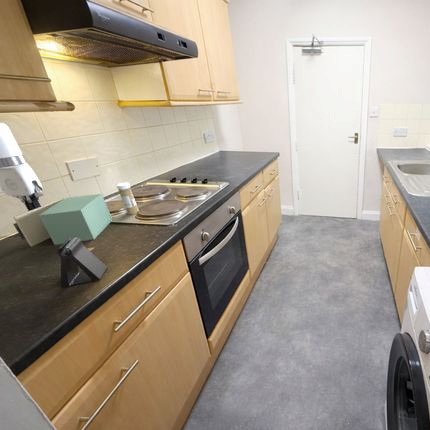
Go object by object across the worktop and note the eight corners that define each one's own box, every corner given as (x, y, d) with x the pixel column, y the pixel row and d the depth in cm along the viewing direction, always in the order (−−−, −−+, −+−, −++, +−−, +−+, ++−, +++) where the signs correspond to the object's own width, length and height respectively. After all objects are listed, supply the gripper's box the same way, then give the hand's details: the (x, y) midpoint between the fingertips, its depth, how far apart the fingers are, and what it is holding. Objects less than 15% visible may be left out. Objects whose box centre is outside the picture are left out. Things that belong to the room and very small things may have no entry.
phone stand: (108, 268, 80) (92, 233, 75) (100, 280, 75) (82, 244, 70) (72, 275, 78) (53, 240, 72) (61, 288, 72) (40, 251, 67)
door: (21, 245, 93) (3, 216, 88) (68, 224, 108) (55, 198, 103) (32, 246, 93) (14, 217, 88) (77, 224, 108) (65, 198, 103)
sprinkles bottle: (141, 211, 119) (131, 182, 113) (132, 215, 115) (121, 186, 109) (134, 210, 120) (123, 181, 114) (124, 214, 116) (113, 185, 110)
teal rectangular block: (54, 245, 94) (38, 215, 88) (78, 224, 108) (66, 197, 103) (94, 239, 97) (80, 210, 91) (112, 220, 111) (101, 193, 106)
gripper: (-26, 165, 85) (5, 216, 93) (18, 164, 84) (45, 216, 92) (1, 159, 92) (28, 207, 100) (41, 158, 91) (65, 207, 99)
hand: (36, 211), depth 96 cm, fingers closed
